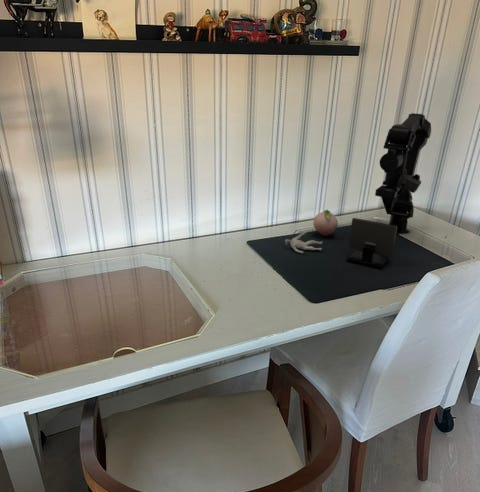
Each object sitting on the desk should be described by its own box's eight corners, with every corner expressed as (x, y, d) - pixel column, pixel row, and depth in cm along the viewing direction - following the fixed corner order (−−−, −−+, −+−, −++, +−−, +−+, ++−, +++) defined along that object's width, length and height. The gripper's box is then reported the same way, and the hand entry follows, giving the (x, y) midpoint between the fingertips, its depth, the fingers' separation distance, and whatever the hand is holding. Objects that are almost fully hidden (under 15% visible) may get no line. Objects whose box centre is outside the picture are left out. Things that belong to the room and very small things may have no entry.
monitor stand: (355, 253, 164) (357, 238, 162) (388, 260, 159) (391, 245, 157) (347, 261, 157) (349, 246, 155) (380, 269, 152) (383, 253, 150)
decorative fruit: (309, 231, 182) (312, 205, 178) (331, 231, 183) (334, 205, 178) (315, 240, 173) (318, 213, 169) (338, 240, 174) (341, 213, 170)
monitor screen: (349, 246, 161) (353, 217, 157) (392, 255, 155) (397, 225, 150) (347, 248, 160) (351, 219, 155) (390, 257, 153) (395, 227, 149)
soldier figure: (321, 257, 162) (288, 247, 160) (314, 262, 167) (282, 252, 164) (323, 236, 165) (291, 226, 162) (317, 241, 170) (285, 231, 167)
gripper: (414, 175, 149) (405, 224, 155) (427, 164, 163) (419, 209, 170) (378, 170, 154) (371, 217, 161) (394, 160, 168) (387, 204, 175)
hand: (388, 212), depth 166 cm, fingers closed
